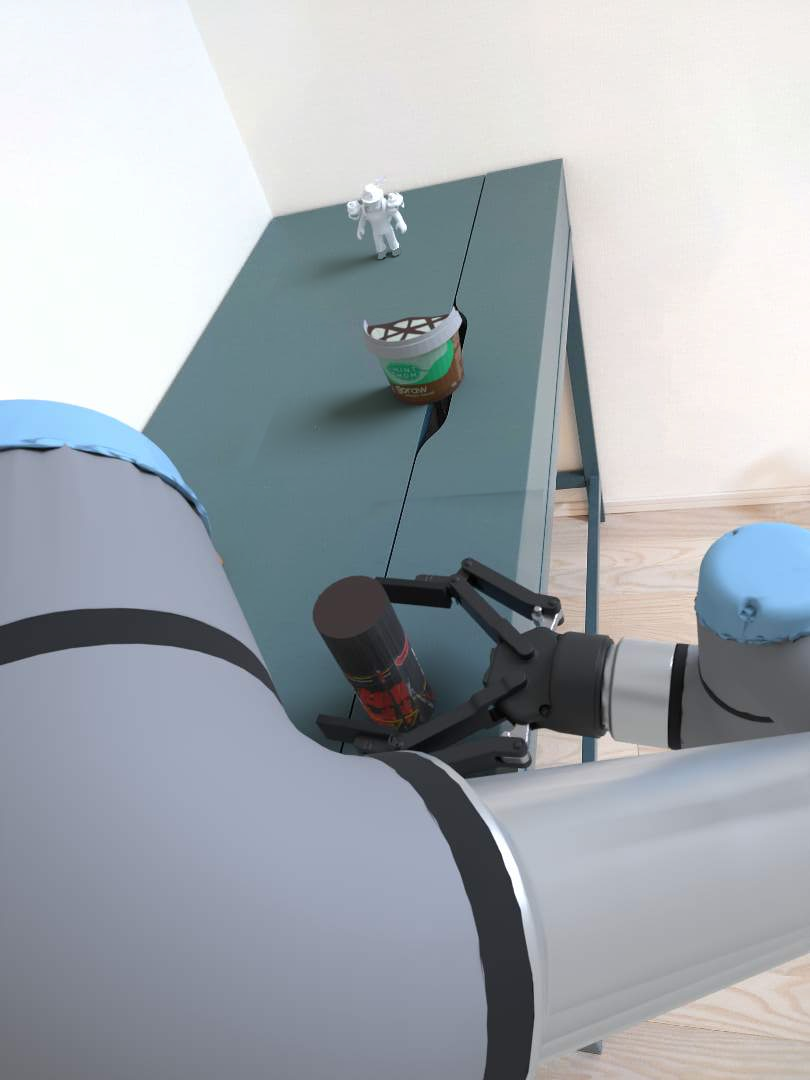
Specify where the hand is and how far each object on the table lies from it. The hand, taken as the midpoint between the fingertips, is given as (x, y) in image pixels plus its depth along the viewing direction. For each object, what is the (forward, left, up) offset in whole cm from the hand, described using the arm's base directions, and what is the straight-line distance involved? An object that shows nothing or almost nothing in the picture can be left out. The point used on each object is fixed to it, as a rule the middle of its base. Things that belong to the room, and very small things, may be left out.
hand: (352, 653), depth 67 cm
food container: (+43, +9, -8) cm, 45 cm away
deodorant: (0, -2, -8) cm, 8 cm away
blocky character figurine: (+78, +26, -8) cm, 83 cm away
